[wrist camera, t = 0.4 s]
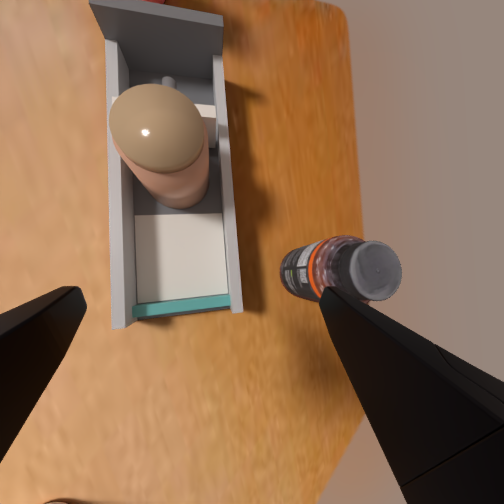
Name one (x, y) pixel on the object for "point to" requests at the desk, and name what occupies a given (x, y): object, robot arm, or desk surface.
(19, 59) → the desk surface
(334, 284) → the supplement bottle
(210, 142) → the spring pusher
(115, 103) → the terracotta jar
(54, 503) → the supplement bottle
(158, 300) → the pusher lane
